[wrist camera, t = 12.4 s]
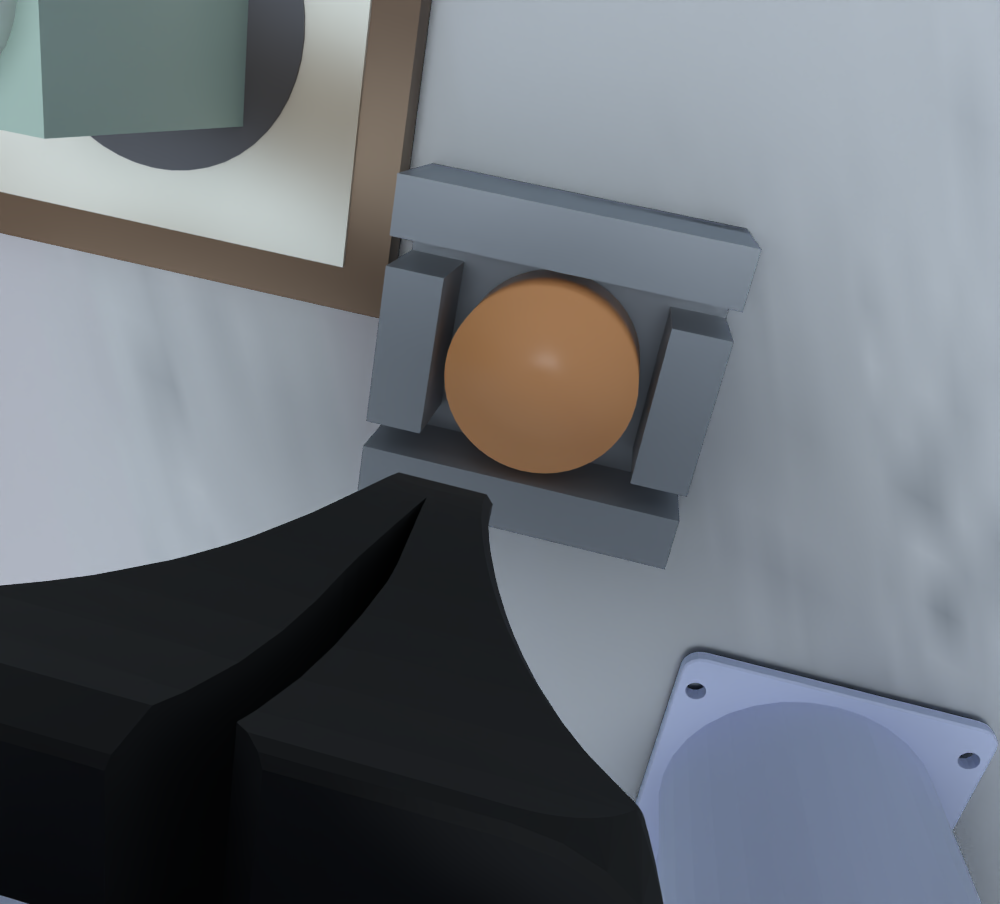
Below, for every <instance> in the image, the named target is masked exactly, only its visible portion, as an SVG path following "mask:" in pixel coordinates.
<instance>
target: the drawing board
mask: <svg viewBox="0 0 1000 904" xmlns="http://www.w3.org/2000/svg"><path fill="white" fill-rule="evenodd" d="M431 1H432V0H249V1H248V23H247V46H246V68H245V90H244V113H243V126H242V127H226V128H210V129H194V130H178V131H162V132H146V133H129V134H113V135H97V136H81V137H65V138H49V139H43V138H38V137H33V136H28V135H23V134H18V133H14V132H9V131H4V130H0V233H3V234H8V235H12V236H16V237H21V238H25V239H30V240H34V241H39V242H43V243H47V244H52V245H56V246H61V247H65V248H70V249H74V250H78V251H83V252H87V253H92V254H96V255H101V256H105V257H110V258H114V259H118V260H123V261H127V262H132V263H136V264H141V265H145V266H149V267H154V268H158V269H163V270H167V271H172V272H176V273H180V274H185V275H189V276H194V277H198V278H203V279H207V280H212V281H216V282H220V283H225V284H229V285H234V286H238V287H243V288H247V289H251V290H256V291H260V292H265V293H269V294H274V295H278V296H282V297H287V298H291V299H296V300H300V301H305V302H309V303H314V304H318V305H322V306H327V307H331V308H336V309H340V310H345V311H349V312H353V313H358V314H362V315H367V316H371V317H376V318H379V317H380V309H381V301H382V293H383V285H384V277H385V269H386V265H388V264H390V263H391V262H393V261H394V260H396V259H398V253H399V246H400V238H398V237H393V236H390V229H391V221H392V213H393V205H394V197H395V189H396V181H397V173H399V172H403V171H406V170H409V169H410V162H411V154H412V146H413V139H414V131H415V123H416V116H417V108H418V100H419V93H420V85H421V77H422V70H423V62H424V54H425V47H426V39H427V31H428V24H429V16H430V8H431Z"/></svg>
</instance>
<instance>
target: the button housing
mask: <svg viewBox="0 0 1000 904" xmlns="http://www.w3.org/2000/svg"><path fill="white" fill-rule="evenodd" d="M390 236H393V237H398V238H403V239H407V240H412V241H413V247H412V250H411V251H409V252H408V253H406V254H404V255H403V256H401V257H399V258H398V259H396V260H394V261H393V262H391V263H390V264H388V265H386V269H385V277H384V285H383V293H382V301H381V309H380V317H379V325H378V333H377V341H376V348H375V356H374V364H373V372H372V380H371V388H370V396H369V404H368V412H367V420H366V421H369V422H373V423H377V424H381V426H380V427H379V428H378V429H377V430H376V432H375V433H374V434H373V435H372V436H371V438H370V439H369V440H368V441H367V442H366V443H365V445H364V446H363V452H362V460H361V468H360V476H359V484H358V491H359V490H361V489H363V488H365V487H367V486H369V485H371V484H374V483H376V482H378V481H380V480H382V479H384V478H386V477H388V476H390V475H393V474H395V473H398V472H400V473H404V474H408V475H412V476H416V477H420V478H424V479H428V480H432V481H436V482H440V483H444V484H448V485H452V486H456V487H460V488H464V489H468V490H472V491H476V492H480V493H484V494H487V496H488V497H489V499H490V500H491V502H492V504H493V506H492V511H491V516H490V520H489V525H488V526H490V527H494V528H498V529H502V530H506V531H510V532H514V533H518V534H522V535H527V536H531V537H535V538H539V539H543V540H547V541H551V542H555V543H559V544H563V545H567V546H572V547H576V548H580V549H584V550H588V551H592V552H596V553H600V554H604V555H608V556H613V557H617V558H621V559H625V560H629V561H633V562H637V563H641V564H645V565H649V566H653V567H658V568H662V569H665V567H666V564H667V560H668V557H669V554H670V550H671V547H672V544H673V540H674V537H675V534H676V531H677V527H678V524H679V508H678V495H682V496H686V497H687V494H688V491H689V488H690V484H691V481H692V478H693V474H694V471H695V468H696V464H697V461H698V458H699V455H700V451H701V448H702V445H703V441H704V438H705V435H706V431H707V428H708V425H709V421H710V418H711V415H712V412H713V408H714V405H715V402H716V398H717V395H718V392H719V388H720V385H721V382H722V379H723V375H724V372H725V369H726V365H727V362H728V359H729V355H730V352H731V349H732V345H733V339H732V336H731V333H730V330H729V326H728V323H727V320H726V316H727V313H728V309H730V310H735V311H739V312H743V309H744V306H745V303H746V299H747V296H748V293H749V289H750V286H751V283H752V279H753V276H754V273H755V270H756V266H757V263H758V260H759V256H760V253H761V250H762V249H761V248H760V247H759V245H758V244H757V242H756V241H755V239H754V238H753V237H752V235H751V234H750V232H749V231H748V230H747V229H746V228H741V227H736V226H731V225H727V224H722V223H717V222H712V221H707V220H703V219H698V218H693V217H688V216H683V215H679V214H674V213H669V212H664V211H659V210H655V209H650V208H645V207H640V206H635V205H631V204H626V203H621V202H616V201H611V200H607V199H602V198H597V197H592V196H587V195H583V194H578V193H573V192H568V191H563V190H559V189H554V188H549V187H544V186H539V185H535V184H530V183H525V182H520V181H515V180H511V179H506V178H501V177H496V176H491V175H487V174H482V173H477V172H472V171H467V170H463V169H458V168H453V167H448V166H443V165H439V164H434V163H432V164H428V165H424V166H421V167H417V168H414V169H410V170H406V171H403V172H399V173H397V181H396V189H395V197H394V205H393V213H392V221H391V229H390ZM536 270H550V271H555V272H559V273H564V274H569V275H573V276H578V277H583V278H587V279H591V280H593V281H594V282H596V283H598V284H599V285H601V286H602V287H604V288H605V289H606V290H607V291H609V292H610V293H611V294H612V295H613V296H614V297H615V298H616V299H617V300H618V301H619V302H620V303H621V305H622V306H623V308H624V309H625V310H626V312H627V313H628V315H629V317H630V319H631V321H632V323H633V325H634V328H635V330H636V333H637V337H638V342H639V347H640V372H639V388H638V397H637V402H636V407H635V410H634V413H633V416H632V418H631V420H630V422H629V424H628V426H627V428H626V430H625V431H624V433H623V434H622V435H621V437H620V438H619V439H618V441H617V442H616V443H615V444H614V445H613V446H612V447H611V448H610V449H609V450H608V451H606V452H605V453H604V454H603V455H601V456H600V457H598V458H597V459H595V460H594V461H592V462H590V463H588V464H586V465H584V466H581V467H579V468H576V469H572V470H569V471H564V472H559V473H546V474H545V473H531V472H526V471H520V470H517V469H514V468H511V467H508V466H506V465H503V464H501V463H499V462H497V461H495V460H494V459H492V458H490V457H488V456H487V455H486V454H484V453H483V452H482V451H480V450H479V449H478V448H477V447H476V446H475V445H474V444H473V443H472V442H471V441H470V440H469V439H468V438H467V437H466V435H465V434H464V433H463V432H462V430H461V429H460V427H459V425H458V424H457V422H456V421H455V419H454V416H453V414H452V412H451V410H450V407H449V404H448V400H447V396H446V391H445V381H444V371H445V362H446V357H447V353H448V349H449V347H450V344H451V341H452V339H453V337H454V335H455V333H456V332H457V330H458V328H459V327H460V325H461V324H462V323H463V321H464V320H465V319H466V318H467V316H468V315H469V314H470V313H471V312H472V311H473V310H474V308H475V307H476V306H477V305H478V304H479V303H480V302H481V300H482V299H483V298H484V297H485V296H486V295H487V294H488V293H489V292H490V291H492V290H493V289H494V288H495V287H497V286H498V285H499V284H501V283H503V282H504V281H506V280H508V279H510V278H512V277H515V276H517V275H519V274H523V273H526V272H530V271H536Z"/></svg>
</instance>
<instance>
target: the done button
mask: <svg viewBox="0 0 1000 904" xmlns="http://www.w3.org/2000/svg"><path fill="white" fill-rule="evenodd" d="M639 372H640V347H639V342H638V337H637V333H636V330H635V328H634V325H633V323H632V321H631V319H630V317H629V315H628V313H627V312H626V310H625V309H624V308H623V306H622V305H621V303H620V302H619V301H618V300H617V299H616V298H615V297H614V296H613V295H612V294H611V293H610V292H609V291H607V290H606V289H605V288H604V287H602V286H601V285H599V284H598V283H596V282H594V281H593V280H591V279H587V278H583V277H578V276H573V275H569V274H564V273H559V272H555V271H550V270H536V271H530V272H526V273H523V274H519V275H517V276H515V277H512V278H510V279H508V280H506V281H504V282H503V283H501V284H499V285H498V286H497V287H495V288H494V289H493V290H492V291H490V292H489V293H488V294H487V295H486V296H485V297H484V298H483V299H482V300H481V302H480V303H479V304H478V305H477V306H476V307H475V308H474V310H473V311H472V312H471V313H470V314H469V315H468V316H467V318H466V319H465V320H464V321H463V323H462V324H461V325H460V327H459V328H458V330H457V332H456V333H455V335H454V337H453V339H452V341H451V344H450V347H449V349H448V353H447V357H446V362H445V371H444V381H445V391H446V396H447V400H448V404H449V407H450V410H451V412H452V414H453V416H454V419H455V421H456V422H457V424H458V425H459V427H460V429H461V430H462V432H463V433H464V434H465V435H466V437H467V438H468V439H469V440H470V441H471V442H472V443H473V444H474V445H475V446H476V447H477V448H478V449H479V450H480V451H482V452H483V453H484V454H486V455H487V456H488V457H490V458H492V459H494V460H495V461H497V462H499V463H501V464H503V465H506V466H508V467H511V468H514V469H517V470H520V471H526V472H531V473H545V474H546V473H559V472H564V471H569V470H572V469H576V468H579V467H581V466H584V465H586V464H588V463H590V462H592V461H594V460H595V459H597V458H598V457H600V456H601V455H603V454H604V453H605V452H606V451H608V450H609V449H610V448H611V447H612V446H613V445H614V444H615V443H616V442H617V441H618V439H619V438H620V437H621V435H622V434H623V433H624V431H625V430H626V428H627V426H628V424H629V422H630V420H631V418H632V416H633V413H634V410H635V407H636V402H637V397H638V388H639Z"/></svg>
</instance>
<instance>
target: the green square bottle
mask: <svg viewBox="0 0 1000 904" xmlns="http://www.w3.org/2000/svg"><path fill="white" fill-rule="evenodd" d="M248 1H249V0H0V130H4V131H9V132H14V133H18V134H23V135H28V136H33V137H38V138H43V139H49V138H65V137H81V136H97V135H113V134H129V133H146V132H162V131H178V130H194V129H210V128H226V127H242V126H243V113H244V90H245V68H246V46H247V23H248Z"/></svg>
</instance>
